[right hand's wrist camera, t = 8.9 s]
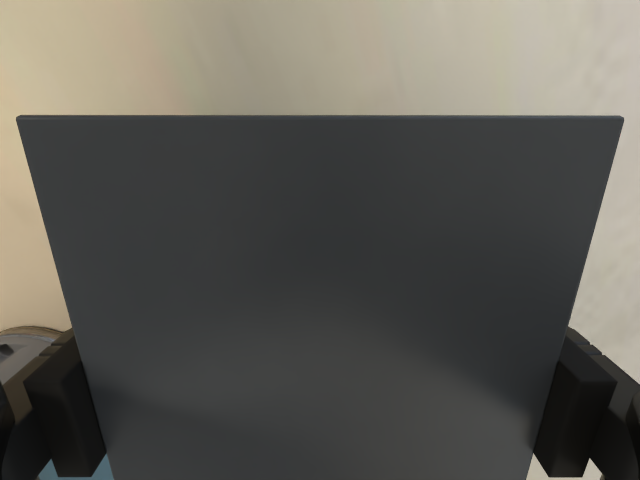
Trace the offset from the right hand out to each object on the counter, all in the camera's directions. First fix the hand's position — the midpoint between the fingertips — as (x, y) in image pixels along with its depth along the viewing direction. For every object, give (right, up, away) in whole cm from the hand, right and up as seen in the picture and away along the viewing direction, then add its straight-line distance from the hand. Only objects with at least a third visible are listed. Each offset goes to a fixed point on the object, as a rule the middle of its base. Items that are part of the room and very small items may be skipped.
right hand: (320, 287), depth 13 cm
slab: (0, -23, +8) cm, 24 cm away
